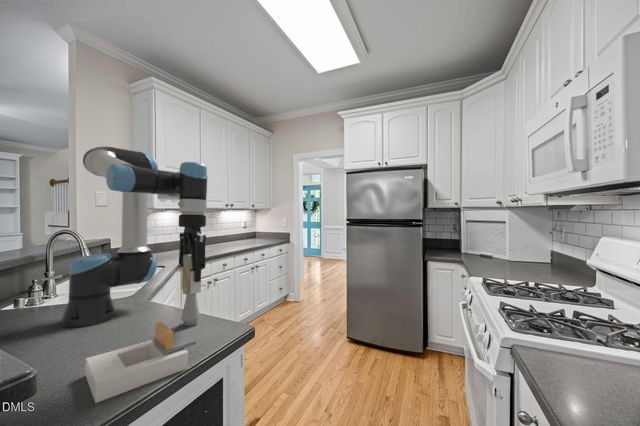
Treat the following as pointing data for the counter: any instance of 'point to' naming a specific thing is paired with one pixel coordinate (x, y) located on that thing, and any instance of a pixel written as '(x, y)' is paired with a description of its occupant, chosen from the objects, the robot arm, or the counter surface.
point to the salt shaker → (190, 310)
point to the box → (187, 273)
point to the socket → (131, 368)
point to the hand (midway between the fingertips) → (190, 290)
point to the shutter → (171, 339)
